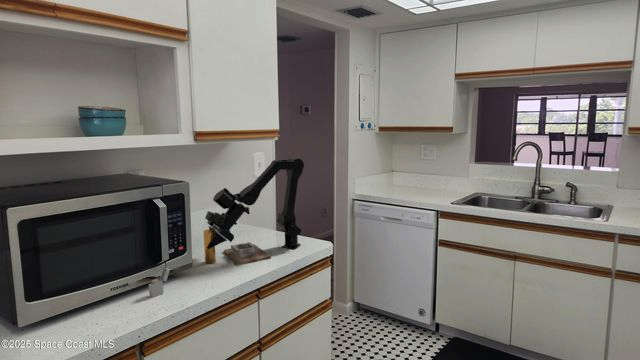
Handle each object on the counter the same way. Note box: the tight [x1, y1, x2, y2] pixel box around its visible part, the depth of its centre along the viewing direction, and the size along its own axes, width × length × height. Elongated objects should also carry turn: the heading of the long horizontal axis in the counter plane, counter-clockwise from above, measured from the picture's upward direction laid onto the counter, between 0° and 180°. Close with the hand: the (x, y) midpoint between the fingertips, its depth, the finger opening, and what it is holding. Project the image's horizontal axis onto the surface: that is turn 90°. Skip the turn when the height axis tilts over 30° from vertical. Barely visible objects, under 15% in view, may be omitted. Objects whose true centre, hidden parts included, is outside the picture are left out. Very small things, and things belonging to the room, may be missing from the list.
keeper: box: [223, 241, 272, 266], centre depth 167 cm, size 14×18×4 cm
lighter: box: [148, 268, 170, 299], centre depth 132 cm, size 7×2×8 cm, turn 144°
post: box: [203, 228, 217, 265], centre depth 159 cm, size 4×4×13 cm
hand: (206, 246), depth 158 cm, fingers closed on post, 4 cm apart
